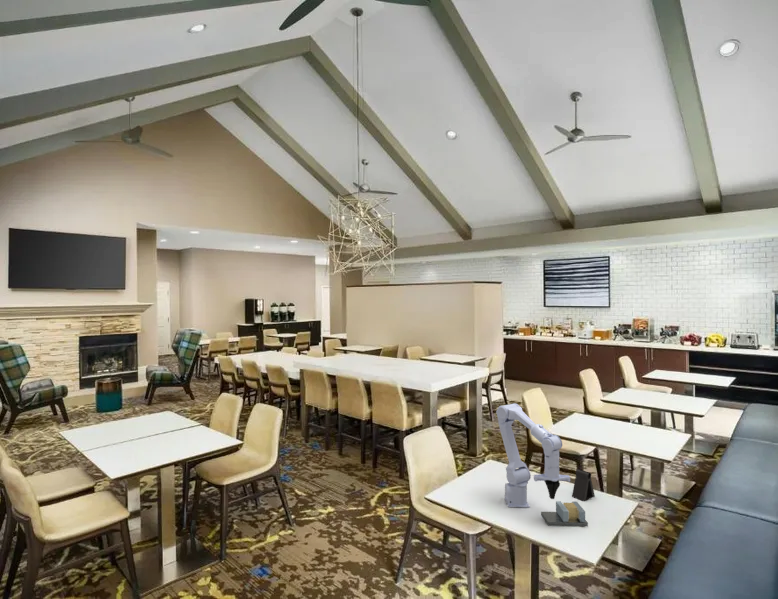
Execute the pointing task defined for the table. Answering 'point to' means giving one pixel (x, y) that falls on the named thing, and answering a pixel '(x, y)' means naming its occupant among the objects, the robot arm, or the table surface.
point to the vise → (555, 520)
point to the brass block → (571, 510)
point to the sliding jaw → (562, 511)
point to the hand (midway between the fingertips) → (551, 497)
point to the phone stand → (583, 486)
